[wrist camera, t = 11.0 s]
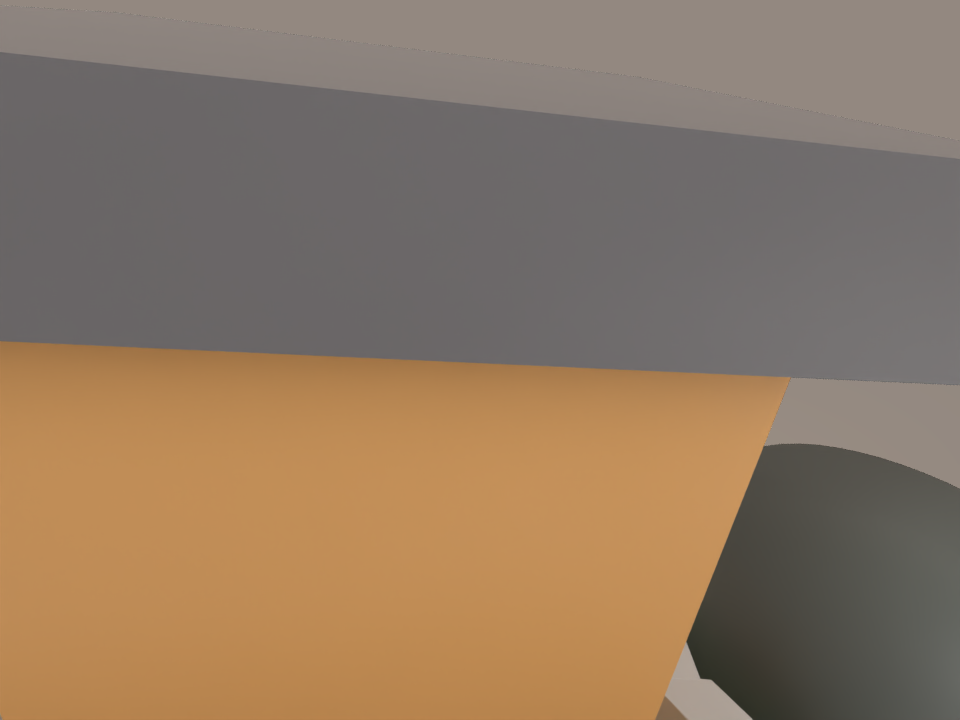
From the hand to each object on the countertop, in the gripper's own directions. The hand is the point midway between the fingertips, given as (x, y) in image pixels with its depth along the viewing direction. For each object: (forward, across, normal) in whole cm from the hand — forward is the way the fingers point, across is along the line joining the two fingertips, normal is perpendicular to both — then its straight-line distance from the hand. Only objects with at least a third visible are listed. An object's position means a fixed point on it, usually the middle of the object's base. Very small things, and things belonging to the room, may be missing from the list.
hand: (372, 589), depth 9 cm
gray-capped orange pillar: (-1, 0, +7) cm, 7 cm away
